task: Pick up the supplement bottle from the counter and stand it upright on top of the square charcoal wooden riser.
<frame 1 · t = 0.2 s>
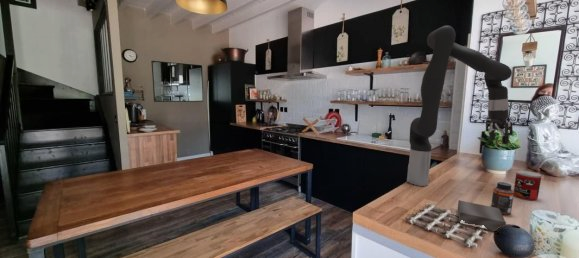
hand: (498, 142, 118), 22 cm above the counter, tool pointing down, fingers open, 8 cm apart
riser: (478, 220, 87), on the counter
canned food: (524, 197, 109), on the counter
supplement bottle: (500, 212, 94), on the counter
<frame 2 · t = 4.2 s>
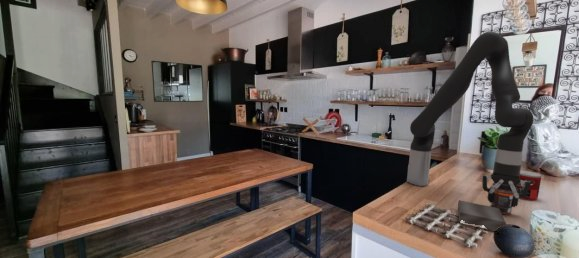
hand: (501, 204, 94), 3 cm above the counter, tool pointing down, fingers open, 6 cm apart
supplement bottle: (500, 212, 94), on the counter, touching gripper
everything else where it was.
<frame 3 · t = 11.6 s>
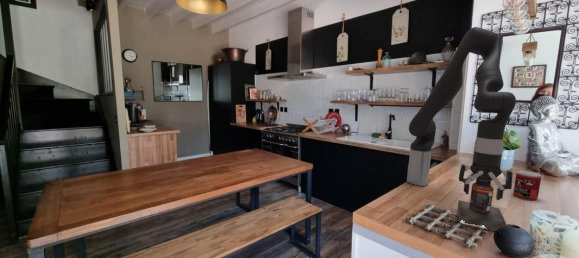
hand: (481, 196, 85), 9 cm above the counter, tool pointing down, fingers open, 8 cm apart
supplement bottle: (479, 210, 86), point 4 cm above the counter, touching riser
everything else where it was.
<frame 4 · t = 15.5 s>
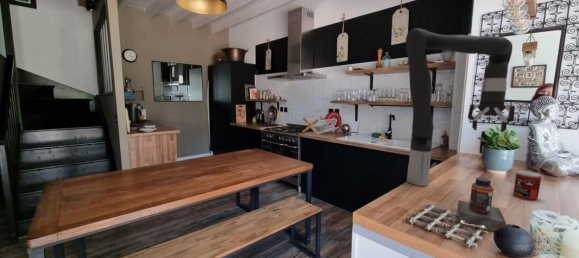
hand: (488, 130, 99), 30 cm above the counter, tool pointing down, fingers open, 8 cm apart
nothing on the counter moved.
at the end: supplement bottle inside the target area on the riser (0.1 cm from its centre), point 3.8 cm above the riser's base; supplement bottle tilted 0°; the gripper is holding nothing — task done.
